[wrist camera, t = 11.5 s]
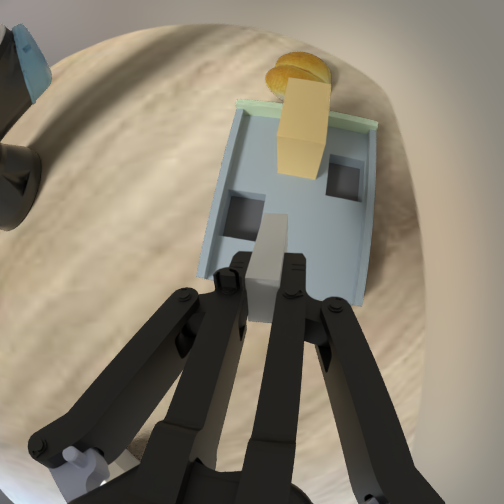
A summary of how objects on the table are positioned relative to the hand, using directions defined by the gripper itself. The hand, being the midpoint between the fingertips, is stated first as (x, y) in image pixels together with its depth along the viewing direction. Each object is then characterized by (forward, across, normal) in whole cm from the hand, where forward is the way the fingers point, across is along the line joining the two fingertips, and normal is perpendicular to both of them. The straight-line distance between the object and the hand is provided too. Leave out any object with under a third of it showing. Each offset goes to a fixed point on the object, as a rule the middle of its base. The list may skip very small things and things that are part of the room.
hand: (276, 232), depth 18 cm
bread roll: (+26, +1, +10) cm, 28 cm away
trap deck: (+13, +1, -4) cm, 14 cm away
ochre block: (+15, +1, +2) cm, 15 cm away
